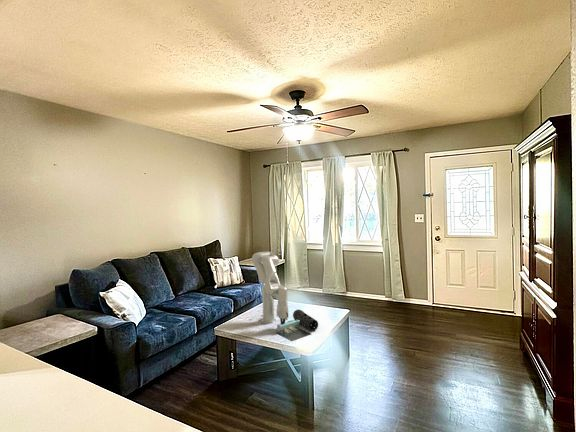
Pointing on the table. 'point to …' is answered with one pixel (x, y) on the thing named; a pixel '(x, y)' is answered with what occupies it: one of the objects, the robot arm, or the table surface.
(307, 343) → the table surface
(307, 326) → the muzzle brake
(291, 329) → the dark grey mat
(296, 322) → the swing arm
